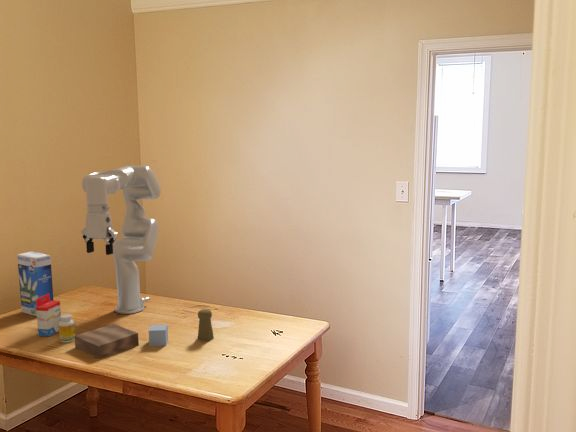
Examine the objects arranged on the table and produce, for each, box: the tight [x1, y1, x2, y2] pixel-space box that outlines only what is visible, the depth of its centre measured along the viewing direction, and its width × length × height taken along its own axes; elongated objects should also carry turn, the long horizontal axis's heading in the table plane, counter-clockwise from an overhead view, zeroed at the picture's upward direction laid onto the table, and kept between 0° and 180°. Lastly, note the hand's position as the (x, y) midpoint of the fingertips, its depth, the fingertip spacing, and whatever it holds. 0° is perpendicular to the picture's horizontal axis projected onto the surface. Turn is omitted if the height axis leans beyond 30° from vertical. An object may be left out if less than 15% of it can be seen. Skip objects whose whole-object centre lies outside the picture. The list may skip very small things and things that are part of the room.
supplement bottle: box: [58, 313, 76, 344], centre depth 213 cm, size 5×5×10 cm
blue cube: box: [148, 323, 169, 347], centre depth 210 cm, size 6×6×6 cm
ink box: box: [36, 293, 62, 337], centre depth 221 cm, size 8×5×15 cm, turn 168°
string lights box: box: [16, 251, 54, 317], centre depth 245 cm, size 13×8×26 cm, turn 58°
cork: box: [197, 308, 215, 342], centre depth 214 cm, size 6×6×11 cm
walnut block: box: [74, 323, 140, 360], centre depth 207 cm, size 16×16×5 cm
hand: (99, 253), depth 218 cm, fingers open, 9 cm apart
